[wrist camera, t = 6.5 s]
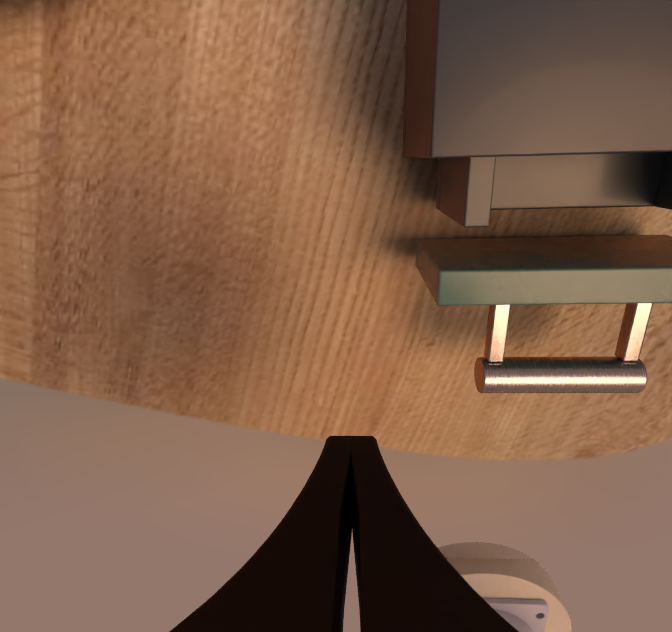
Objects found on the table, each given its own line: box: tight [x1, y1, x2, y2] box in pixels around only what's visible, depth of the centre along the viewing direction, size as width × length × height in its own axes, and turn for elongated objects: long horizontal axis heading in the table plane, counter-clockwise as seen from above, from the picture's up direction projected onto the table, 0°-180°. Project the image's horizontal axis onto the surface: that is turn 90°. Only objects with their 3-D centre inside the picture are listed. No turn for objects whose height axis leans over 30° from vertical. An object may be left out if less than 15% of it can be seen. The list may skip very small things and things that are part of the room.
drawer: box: [416, 152, 672, 393], centre depth 14 cm, size 17×10×5 cm, turn 1°
